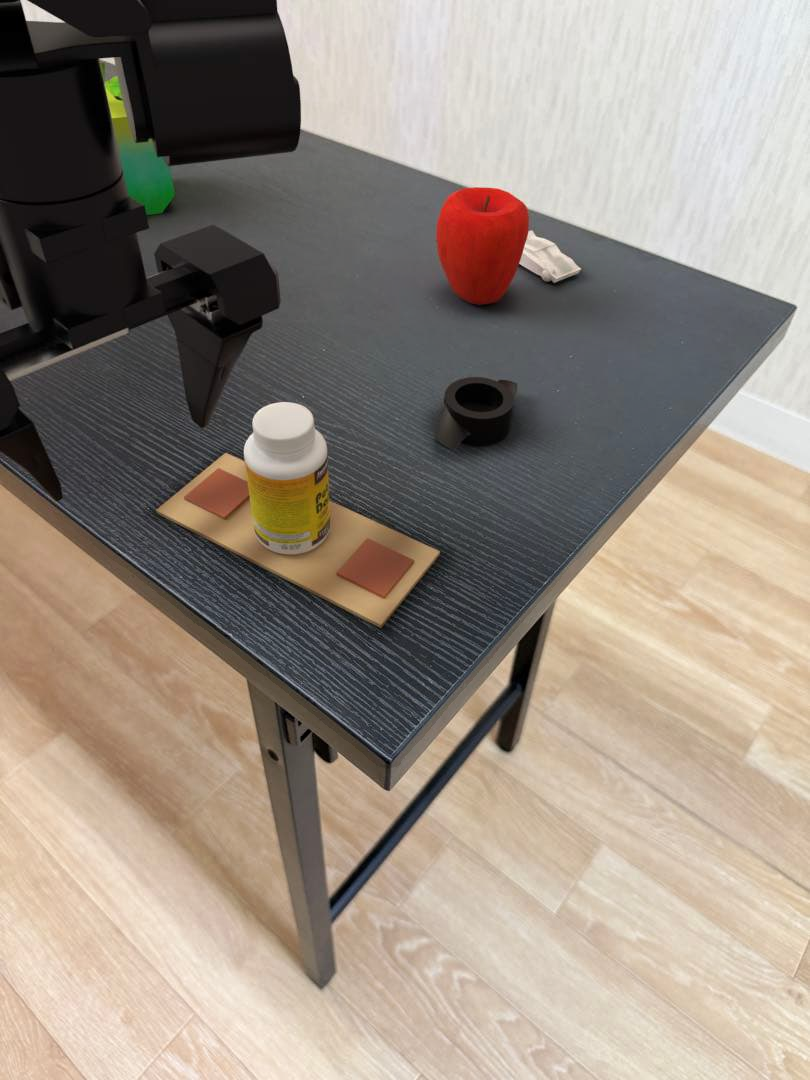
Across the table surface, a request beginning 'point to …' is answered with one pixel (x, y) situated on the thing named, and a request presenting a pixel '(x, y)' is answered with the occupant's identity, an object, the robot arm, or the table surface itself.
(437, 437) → the black hollow round piece
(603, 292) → the table surface
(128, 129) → the yellow-green faceted fruit
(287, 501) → the supplement bottle
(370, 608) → the wood board
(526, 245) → the toy car
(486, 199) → the apple
